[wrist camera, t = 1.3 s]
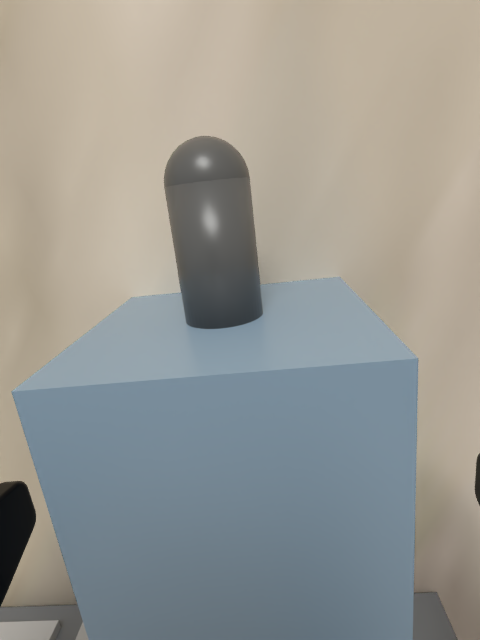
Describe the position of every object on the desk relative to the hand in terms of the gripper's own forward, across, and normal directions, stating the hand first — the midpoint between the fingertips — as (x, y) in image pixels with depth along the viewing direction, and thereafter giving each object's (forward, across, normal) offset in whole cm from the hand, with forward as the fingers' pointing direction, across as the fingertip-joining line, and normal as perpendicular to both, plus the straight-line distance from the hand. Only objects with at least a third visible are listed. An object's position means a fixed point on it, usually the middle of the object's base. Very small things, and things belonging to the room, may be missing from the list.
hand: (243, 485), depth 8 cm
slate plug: (+3, 0, 0) cm, 3 cm away
